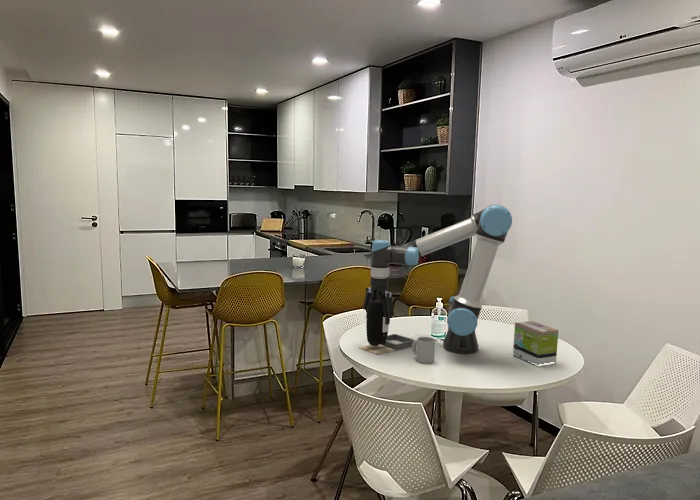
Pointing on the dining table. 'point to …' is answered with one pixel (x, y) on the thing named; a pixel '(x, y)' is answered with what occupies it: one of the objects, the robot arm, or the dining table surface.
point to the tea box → (535, 342)
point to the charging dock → (406, 343)
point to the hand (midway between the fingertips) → (377, 329)
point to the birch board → (376, 349)
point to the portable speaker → (375, 323)
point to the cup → (424, 349)
